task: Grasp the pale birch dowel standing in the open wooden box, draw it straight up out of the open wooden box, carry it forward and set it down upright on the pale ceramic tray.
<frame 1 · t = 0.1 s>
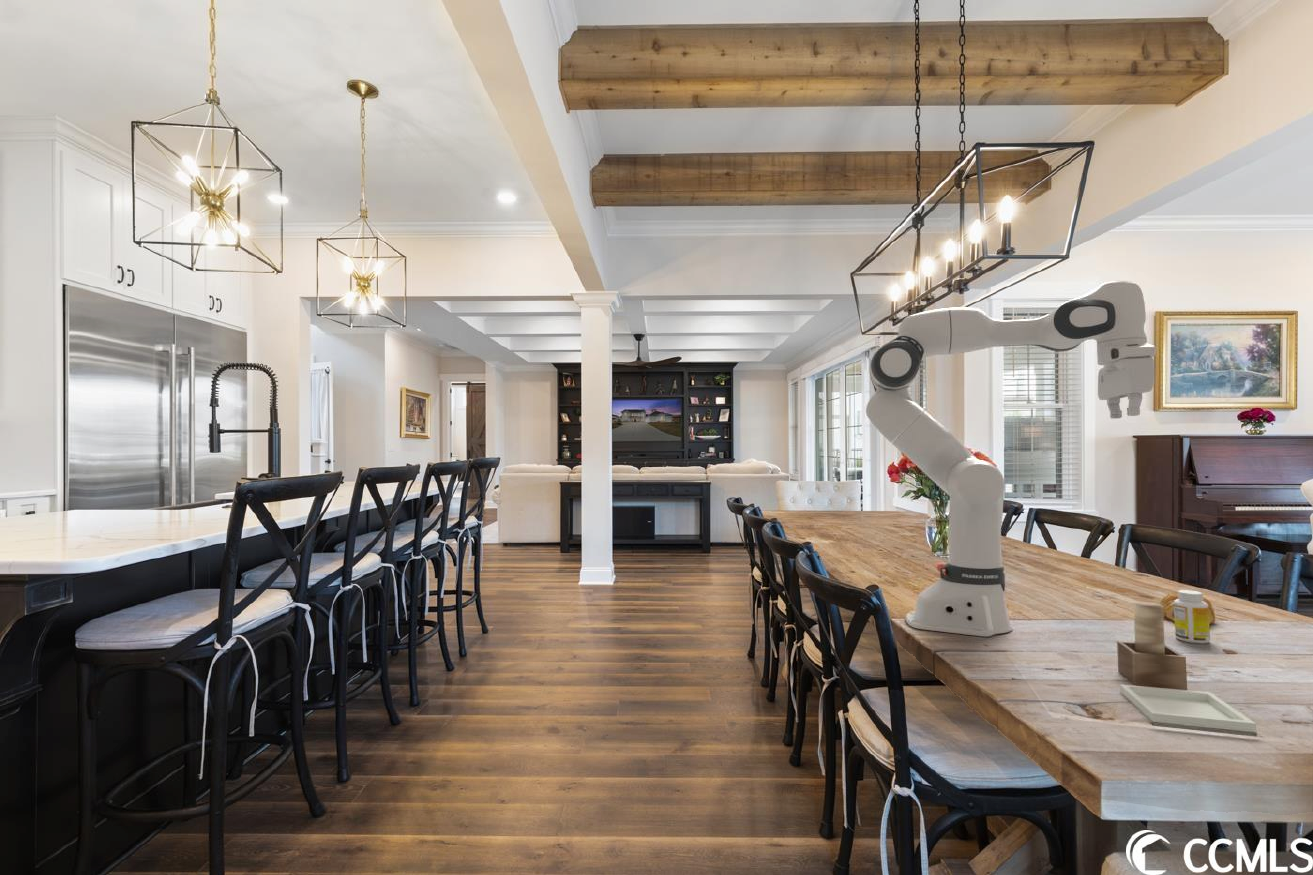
hand: (1124, 417, 134), 48 cm above the table, tool pointing down, fingers open, 8 cm apart
croissant: (1186, 620, 146), on the table
tray: (1182, 714, 93), on the table
supplement bottle: (1192, 641, 129), on the table
open wooden box: (1151, 683, 105), on the table
dowel: (1151, 680, 105), point 1 cm above the table, touching open wooden box
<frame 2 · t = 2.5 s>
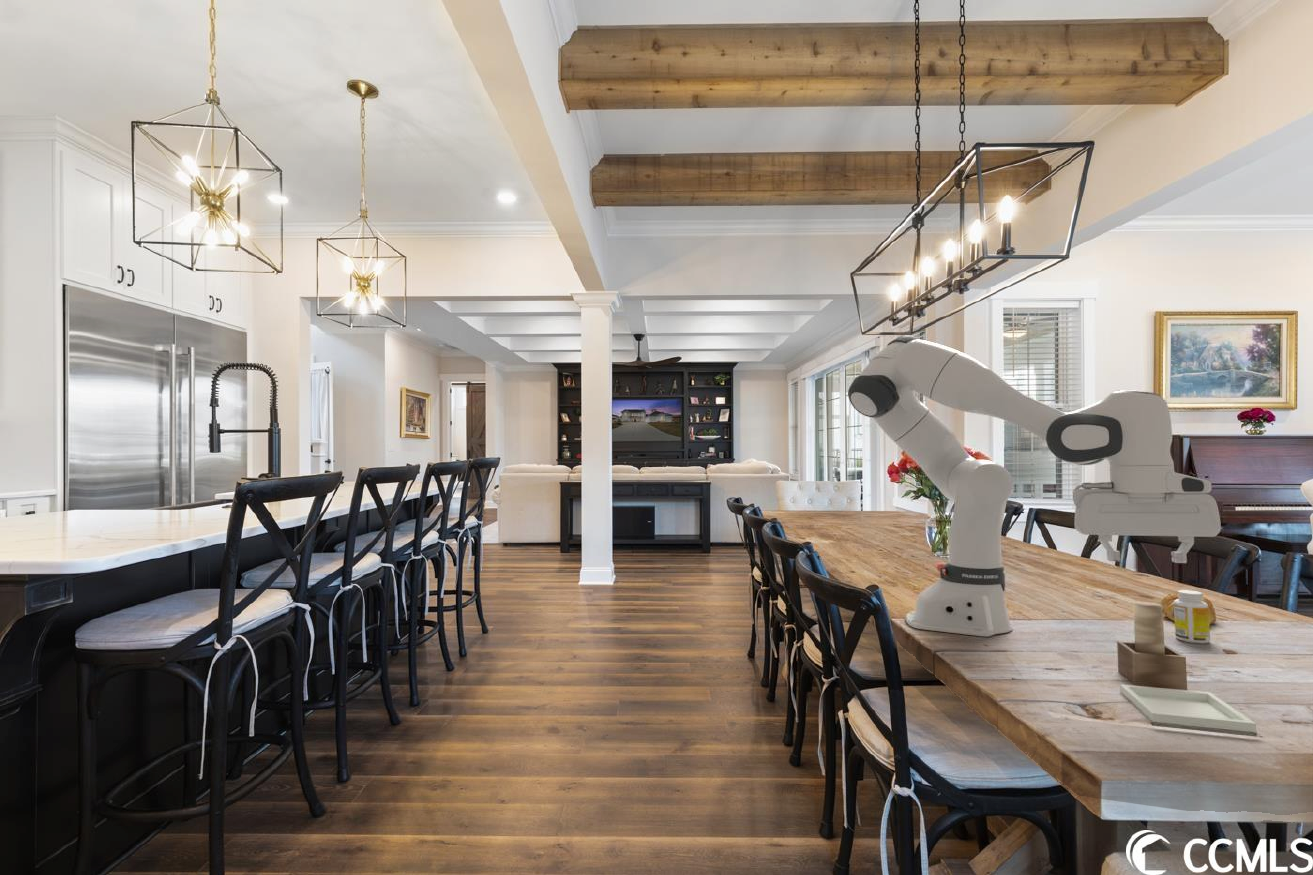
hand: (1146, 561, 106), 21 cm above the table, tool pointing down, fingers open, 8 cm apart
nothing on the table moved.
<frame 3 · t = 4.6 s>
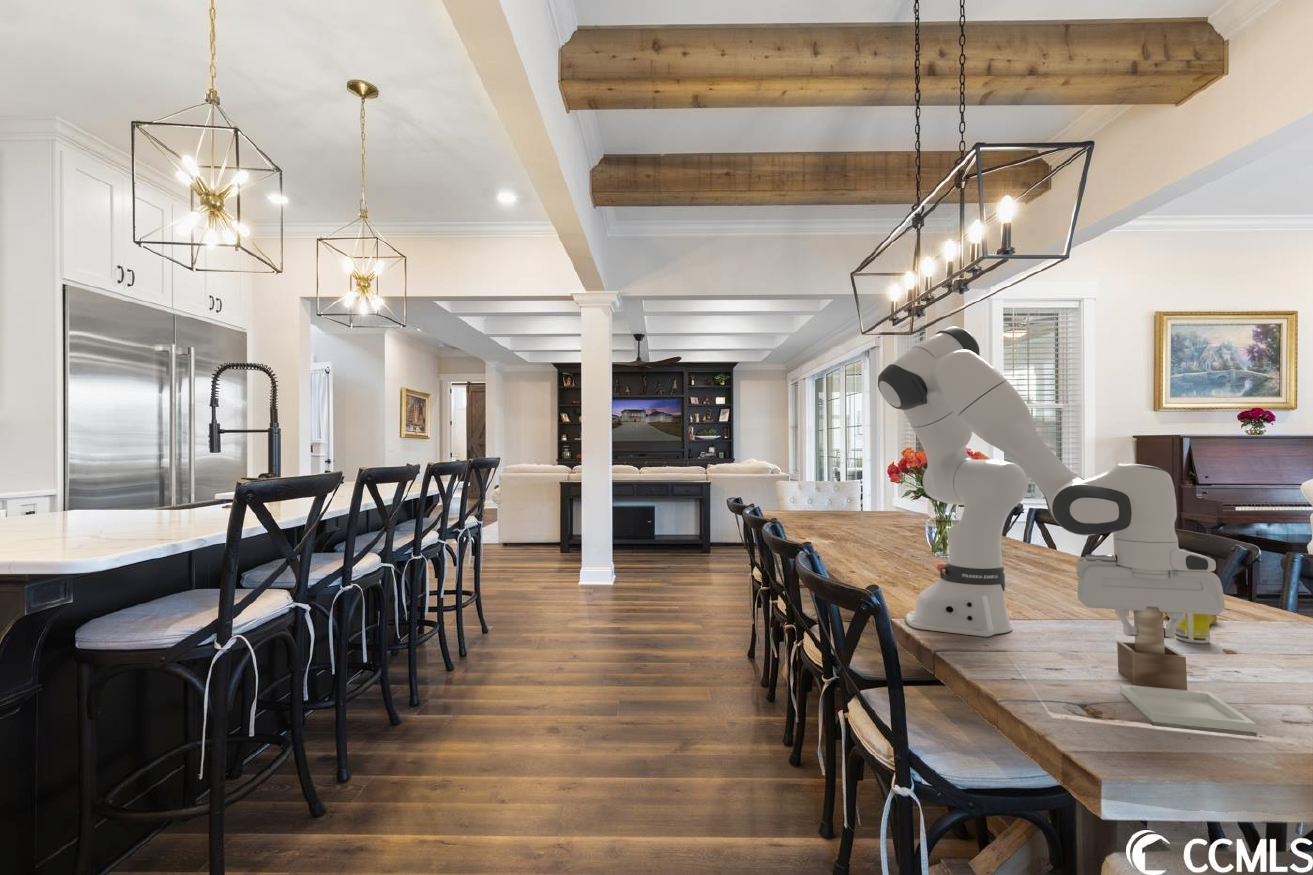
hand: (1149, 636, 106), 8 cm above the table, tool pointing down, fingers closed on dowel, 4 cm apart
dowel: (1151, 680, 105), point 1 cm above the table, touching open wooden box, gripper
everything else where it was.
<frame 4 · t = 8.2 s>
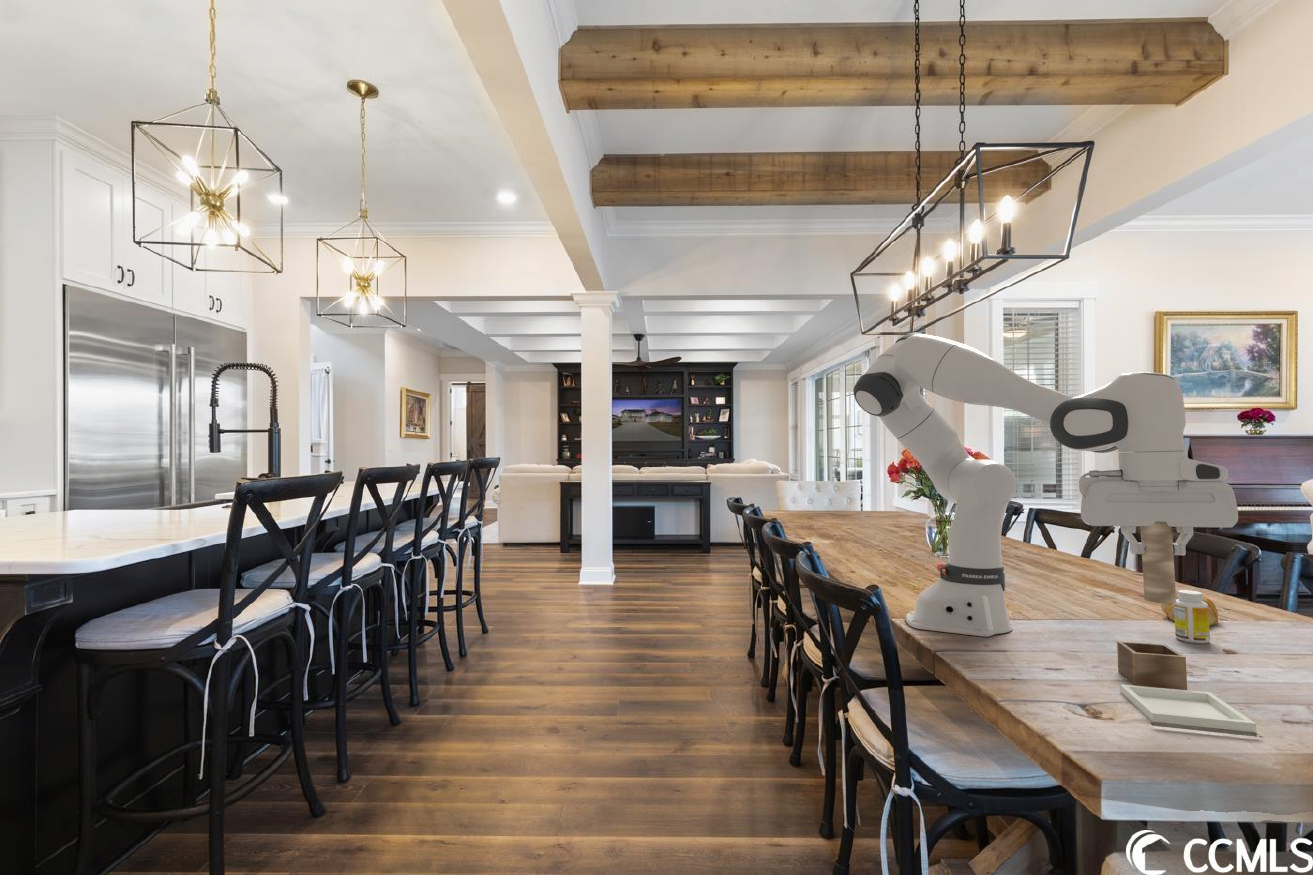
hand: (1157, 554, 99), 23 cm above the table, tool pointing down, fingers closed on dowel, 4 cm apart
dowel: (1160, 600, 99), point 16 cm above the table, touching gripper
everything else where it was.
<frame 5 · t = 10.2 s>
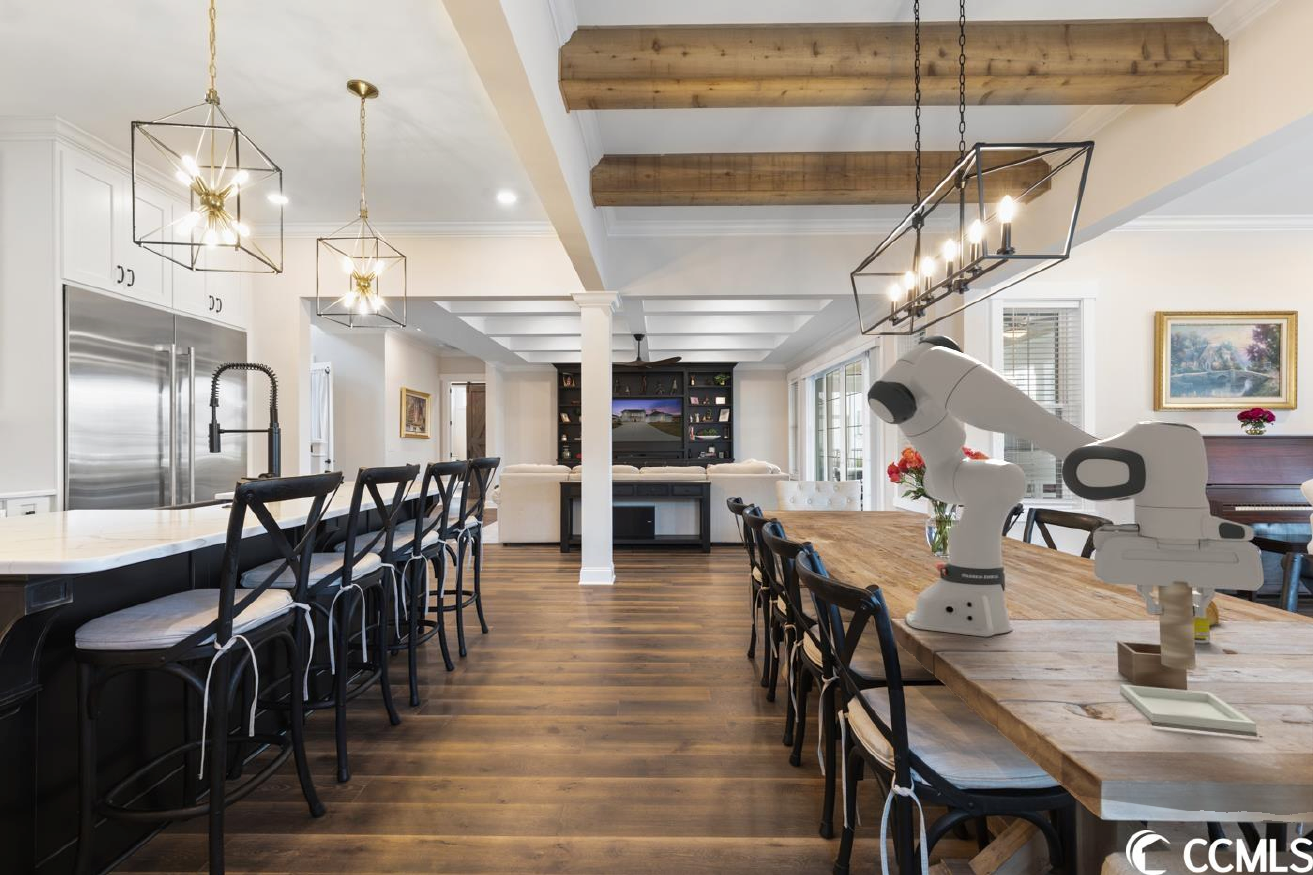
hand: (1176, 615, 93), 15 cm above the table, tool pointing down, fingers closed on dowel, 4 cm apart
dowel: (1178, 665, 93), point 7 cm above the table, touching gripper
everything else where it was.
when the fingers open (9 cm above the table, at t = 12.0 s): dowel drops 1 cm, resting on tray.
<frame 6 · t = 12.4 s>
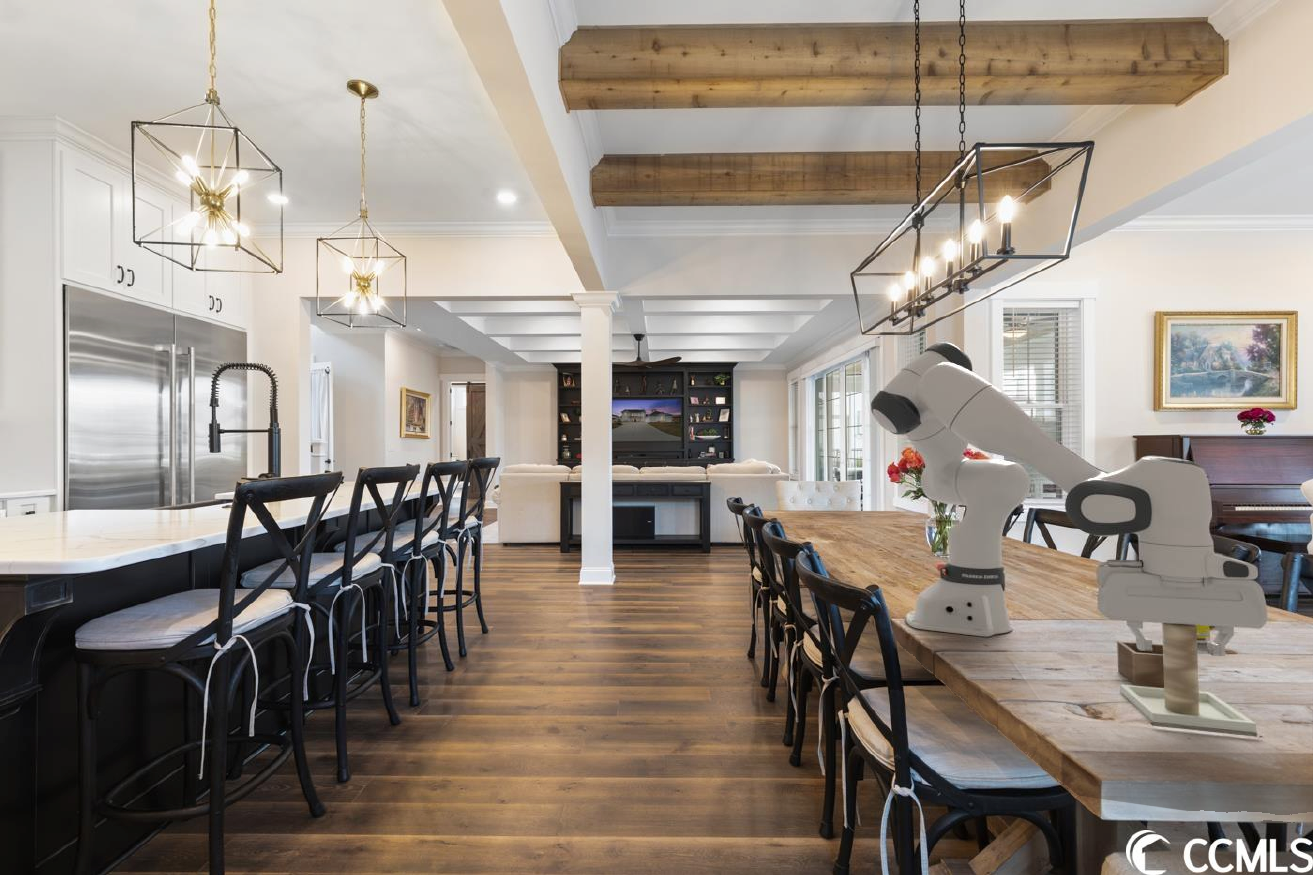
hand: (1179, 652, 93), 9 cm above the table, tool pointing down, fingers open, 8 cm apart
dowel: (1181, 710, 93), point 1 cm above the table, touching tray
everything else where it was.
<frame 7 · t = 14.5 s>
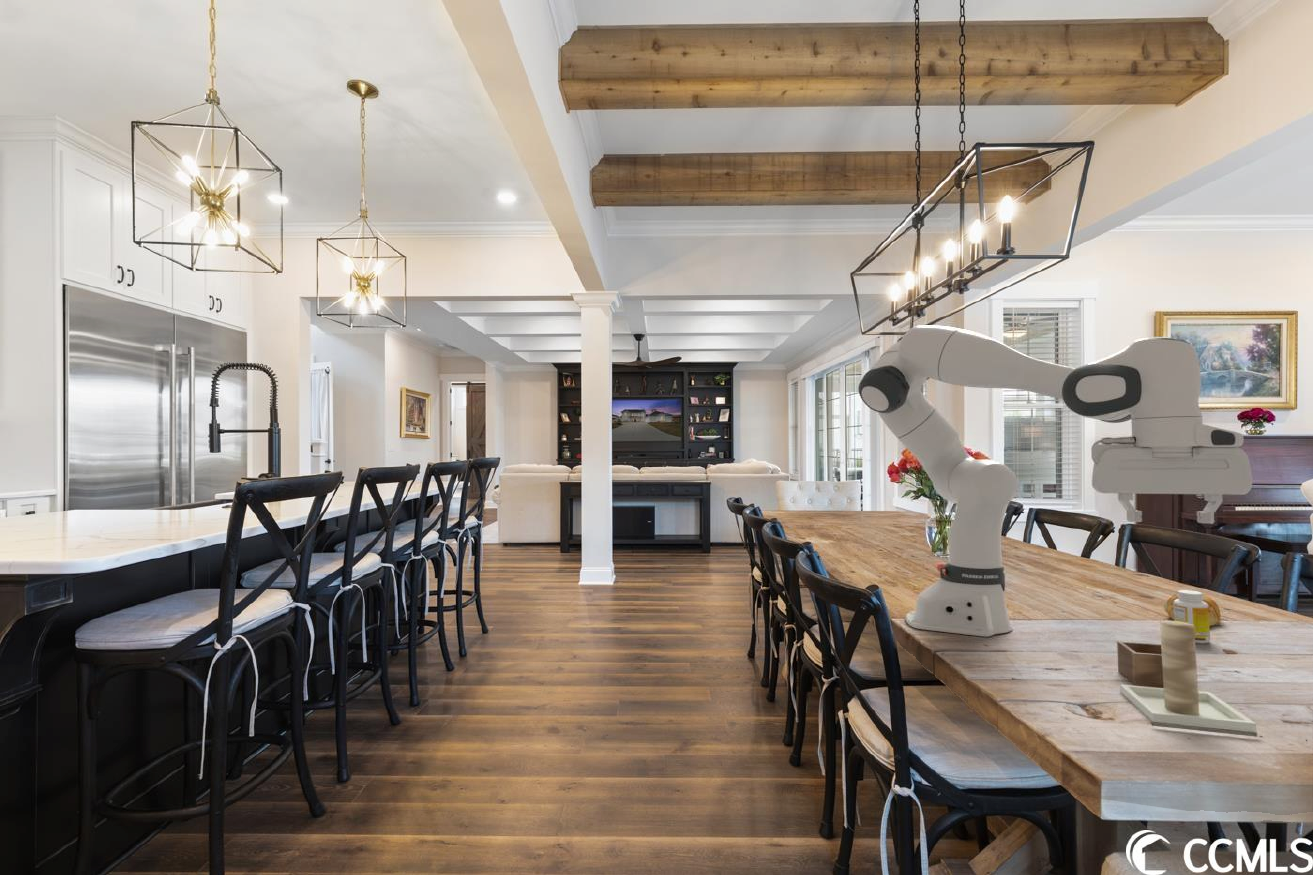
hand: (1169, 522, 98), 29 cm above the table, tool pointing down, fingers open, 8 cm apart
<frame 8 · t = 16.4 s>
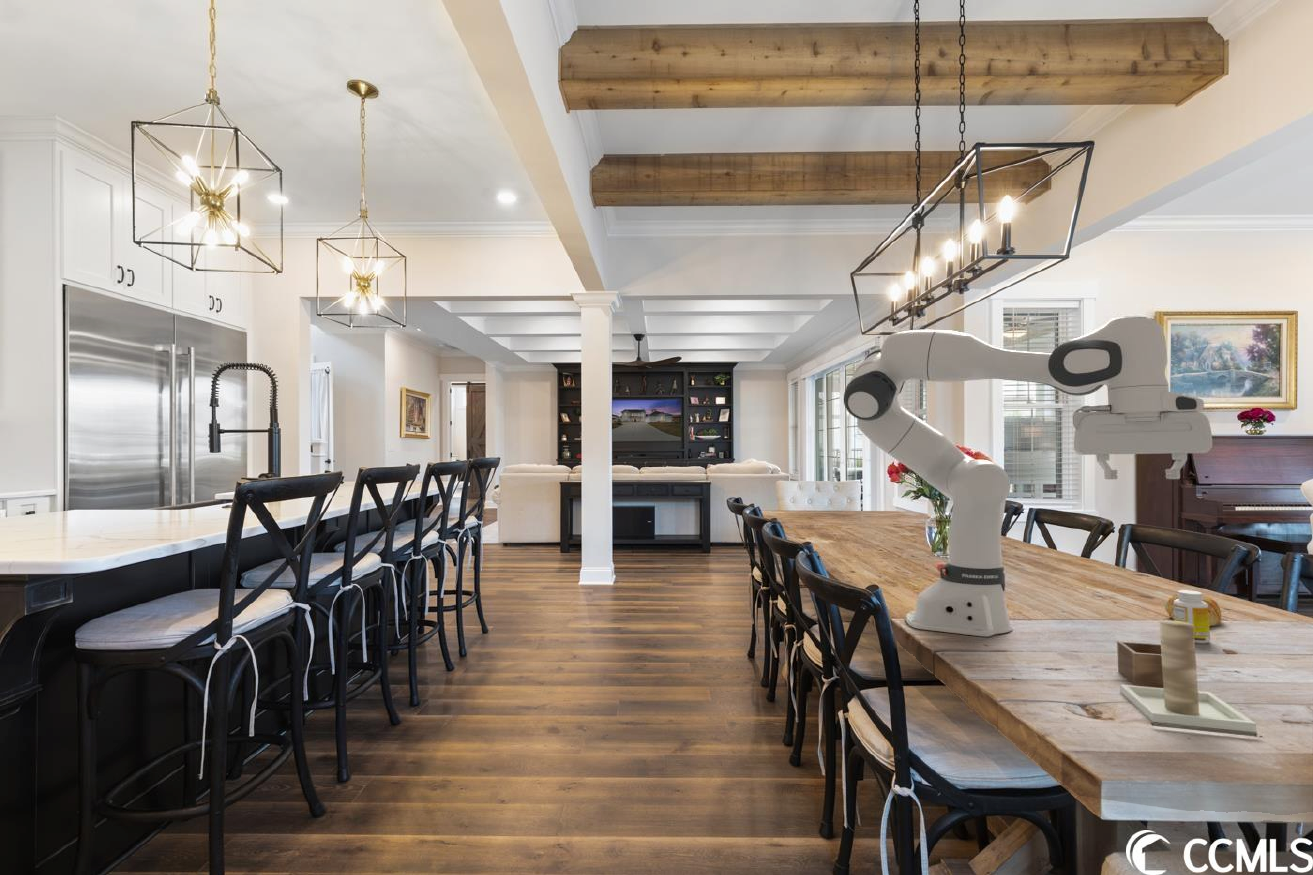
hand: (1141, 479, 112), 35 cm above the table, tool pointing down, fingers open, 8 cm apart
at the end: dowel inside the target area on the tray (0.1 cm from its centre), point 0.6 cm above the tray's base; dowel tilted 1°; the gripper is holding nothing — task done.
